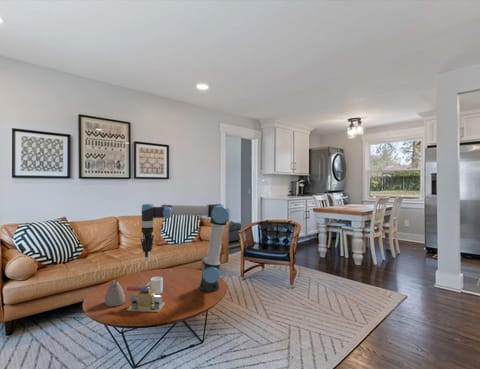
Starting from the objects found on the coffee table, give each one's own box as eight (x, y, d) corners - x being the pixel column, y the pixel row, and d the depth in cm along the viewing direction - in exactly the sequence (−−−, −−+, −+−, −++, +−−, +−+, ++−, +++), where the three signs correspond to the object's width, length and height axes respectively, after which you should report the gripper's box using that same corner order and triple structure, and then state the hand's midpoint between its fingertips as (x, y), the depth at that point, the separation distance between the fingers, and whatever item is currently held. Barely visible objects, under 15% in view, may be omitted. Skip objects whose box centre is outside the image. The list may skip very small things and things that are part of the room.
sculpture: (101, 307, 177) (101, 284, 177) (108, 299, 189) (108, 277, 189) (122, 306, 178) (122, 283, 178) (128, 298, 190) (128, 277, 190)
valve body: (164, 303, 184) (165, 288, 183) (158, 312, 172) (158, 296, 171) (135, 302, 185) (135, 287, 185) (127, 310, 173) (127, 295, 173)
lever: (151, 290, 180) (151, 286, 180) (148, 292, 176) (148, 288, 176) (129, 288, 182) (129, 284, 182) (126, 291, 178) (126, 287, 178)
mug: (147, 297, 193) (147, 282, 192) (143, 293, 199) (143, 279, 199) (164, 293, 200) (164, 279, 199) (160, 289, 206) (160, 275, 206)
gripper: (147, 224, 195) (147, 257, 196) (136, 228, 183) (136, 263, 183) (157, 225, 194) (157, 258, 194) (147, 228, 181) (146, 264, 182)
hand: (147, 261), depth 189 cm, fingers closed
